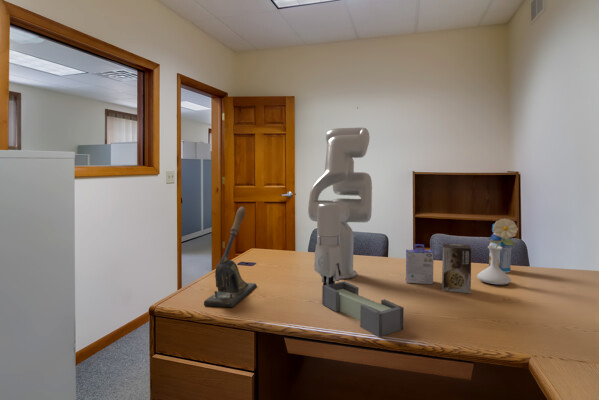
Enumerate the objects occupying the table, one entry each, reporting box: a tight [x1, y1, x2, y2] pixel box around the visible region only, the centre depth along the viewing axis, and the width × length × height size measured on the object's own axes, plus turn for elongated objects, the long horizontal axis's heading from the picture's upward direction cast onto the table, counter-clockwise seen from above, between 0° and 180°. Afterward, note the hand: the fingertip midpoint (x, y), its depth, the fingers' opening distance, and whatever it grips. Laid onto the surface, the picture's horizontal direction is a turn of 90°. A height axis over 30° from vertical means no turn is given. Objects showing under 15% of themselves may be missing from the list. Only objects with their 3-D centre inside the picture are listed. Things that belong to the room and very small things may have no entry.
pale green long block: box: [337, 289, 392, 321], centre depth 101 cm, size 20×4×6 cm, turn 35°
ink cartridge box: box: [405, 243, 435, 285], centre depth 134 cm, size 10×6×14 cm, turn 78°
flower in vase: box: [476, 218, 519, 286], centre depth 132 cm, size 13×11×25 cm
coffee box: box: [441, 243, 472, 294], centre depth 124 cm, size 9×6×16 cm
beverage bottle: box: [488, 223, 513, 274], centre depth 149 cm, size 8×8×20 cm
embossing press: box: [203, 205, 257, 308], centre depth 119 cm, size 11×24×30 cm, turn 165°
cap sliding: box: [321, 280, 360, 312], centre depth 110 cm, size 7×9×6 cm
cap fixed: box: [359, 298, 405, 338], centre depth 94 cm, size 7×9×6 cm
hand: (328, 294), depth 115 cm, fingers closed
